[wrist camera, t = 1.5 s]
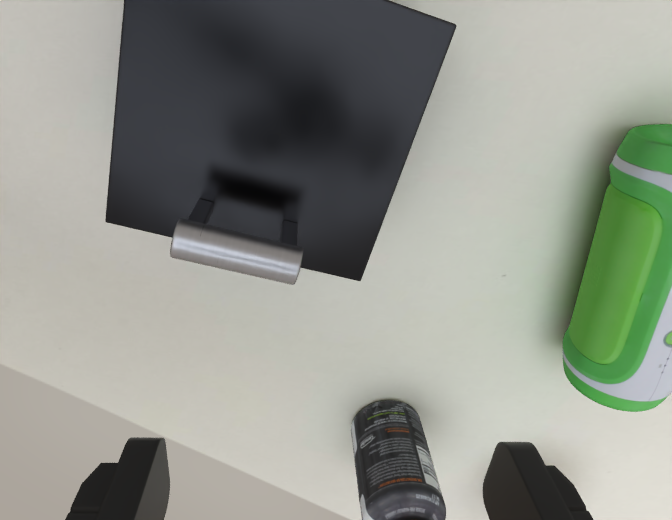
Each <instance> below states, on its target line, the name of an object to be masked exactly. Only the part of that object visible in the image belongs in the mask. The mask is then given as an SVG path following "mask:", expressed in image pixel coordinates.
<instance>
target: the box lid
mask: <svg viewBox="0 0 672 520" xmlns="http://www.w3.org/2000/svg"><path fill="white" fill-rule="evenodd" d="M455 29H456V24H453V23H450V22H448V21H445V20H442V19H439V18H436V17H434V16H431V15H428V14H425V13H422V12H420V11H417V10H414V9H411V8H408V7H406V6H403V5H400V4H397V3H394V2H392V1H389V0H124V10H123V22H122V34H121V45H120V57H119V69H118V80H117V92H116V104H115V115H114V127H113V139H112V150H111V162H110V174H109V185H108V197H107V209H106V222H108V223H112V224H117V225H121V226H125V227H129V228H134V229H138V230H142V231H147V232H151V233H155V234H159V235H164V236H168V237H172V243H171V249H170V255H171V257H172V258H176V259H180V260H185V261H189V262H194V263H198V264H203V265H207V266H211V267H216V268H220V269H225V270H229V271H234V272H238V273H243V274H247V275H251V276H256V277H260V278H265V279H269V280H274V281H278V282H283V283H287V284H291V285H294V284H295V282H296V280H297V278H298V274H299V271H300V267H301V268H305V269H310V270H314V271H318V272H323V273H327V274H331V275H335V276H340V277H344V278H348V279H353V280H357V281H361V278H362V276H363V273H364V270H365V268H366V265H367V262H368V260H369V257H370V254H371V252H372V249H373V247H374V244H375V241H376V239H377V236H378V233H379V231H380V228H381V225H382V223H383V220H384V217H385V215H386V212H387V209H388V207H389V204H390V201H391V199H392V196H393V193H394V191H395V188H396V185H397V183H398V180H399V177H400V175H401V172H402V170H403V167H404V164H405V162H406V159H407V156H408V154H409V151H410V148H411V146H412V143H413V140H414V138H415V135H416V132H417V130H418V127H419V124H420V122H421V119H422V116H423V114H424V111H425V108H426V106H427V103H428V100H429V98H430V95H431V92H432V90H433V87H434V85H435V82H436V79H437V77H438V74H439V71H440V69H441V66H442V63H443V61H444V58H445V55H446V53H447V50H448V47H449V45H450V42H451V39H452V37H453V34H454V31H455Z"/></svg>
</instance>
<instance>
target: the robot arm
mask: <svg viewBox="0 0 672 520" xmlns="http://www.w3.org/2000/svg"><path fill="white" fill-rule="evenodd" d="M169 491H170V477H169V469H168V460H167V451H166V444H165V439H164V438H130V439H128V441H127V443H126V445H125V447H124V450H123V452H122V454H121V457H120V459H119V462H118V463H101V464H100V465H99V466H98V467H97V468H96V469H95V470H94V471H93V472H92V474H90V476H89V477H88V478H87V479H86V480H85V481H84V482H83V483H82V484H81V487H80V489H79V491H78V493H77V495H76V498H75V500H74V502H73V504H72V507H71V511H70V513H68V515H67V517H66V519H65V520H164V517H165V513H166V509H167V504H168V499H169ZM483 498H484V504H485V508H486V511H487V513H488V516H489V519H490V520H593V518H592V516H591V515H590V513H589V511H587V510H586V506H585V504H584V502H583V501H582V499H581V497H580V495H579V494H578V492H577V490H576V488H575V487H574V485H573V484H572V483H571V482H570V481H569V480H568V479H567V478H566V477H565V476H564V475H563V474H562V473H561V472H560V471H559V470H558V469H557V468H556V467H555V466H545V464H544V462H543V460H542V458H541V456H540V454H539V453H538V451H537V449H536V447H535V446H534V445H533V444H532V443H530V442H499V443H498V444H497V446H496V448H495V451H494V454H493V457H492V460H491V462H490V465H489V468H488V471H487V473H486V476H485V479H484V483H483Z"/></svg>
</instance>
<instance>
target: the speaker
mask: <svg viewBox="0 0 672 520" xmlns="http://www.w3.org/2000/svg"><path fill="white" fill-rule="evenodd" d="M609 170H610V177H611V183H610V184H609V186H608V187H607V189H606V193H605V196H604V200H603V204H602V207H601V211H600V215H599V219H598V222H597V226H596V230H595V234H594V237H593V241H592V245H591V249H590V252H589V256H588V260H587V263H586V267H585V271H584V274H583V278H582V282H581V285H580V289H579V293H578V296H577V300H576V304H575V307H574V311H573V315H572V318H571V322H570V326H569V327H568V329H567V331H566V333H565V335H564V338H563V365H564V371H565V374H566V376H567V378H568V380H569V381H570V383H571V384H572V385H573V386H574V387H575V388H576V389H577V390H578V391H580V392H581V393H582V394H583V395H585V396H586V397H588V398H589V399H591V400H593V401H595V402H597V403H599V404H601V405H604V406H607V407H610V408H613V409H617V410H622V411H631V412H637V411H645V410H649V409H652V408H654V407H656V406H658V405H659V404H660V403H661V402H662V401H663V400H665V399H666V398H667V397H668V395H670V394H671V393H672V124H653V125H643V126H638V127H635V128H632V129H631V130H629V132H628V133H627V135H626V136H625V138H624V140H623V141H622V143H621V145H620V146H619V148H618V150H617V152H616V154H615V156H614V159H613V161H612V162H611V164H610V166H609Z"/></svg>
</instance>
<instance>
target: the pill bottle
mask: <svg viewBox="0 0 672 520" xmlns="http://www.w3.org/2000/svg"><path fill="white" fill-rule="evenodd" d="M351 434H352V442H353V450H354V458H355V467H356V475H357V484H358V492H359V501H360V507H361V515H362V520H445V518H446V507H445V503H444V500H443V497H442V493H441V490H440V486H439V483H438V480H437V476H436V472H435V469H434V466H433V462H432V459H431V455H430V452H429V448H428V445H427V441H426V438H425V435H424V432H423V428H422V424H421V421H420V418H419V415H418V413H417V412H416V411H415V410H414V409H413V408H412V407H411V406H409V405H408V404H405V403H403V402H399V401H392V400H387V401H379V402H376V403H373V404H370V405H368V406H367V407H365V408H363V409H362V410H361V411H360V412H359V413H358V414H357V415H356V416H355V417H354V419H353V422H352V426H351Z"/></svg>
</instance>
